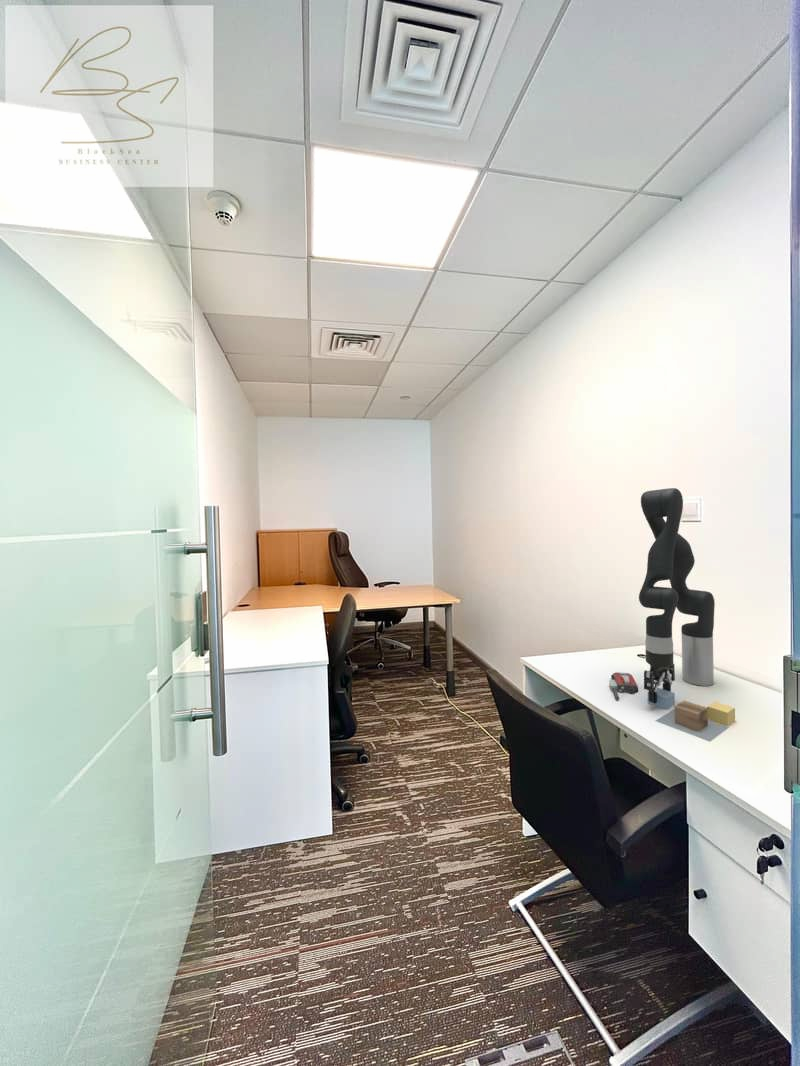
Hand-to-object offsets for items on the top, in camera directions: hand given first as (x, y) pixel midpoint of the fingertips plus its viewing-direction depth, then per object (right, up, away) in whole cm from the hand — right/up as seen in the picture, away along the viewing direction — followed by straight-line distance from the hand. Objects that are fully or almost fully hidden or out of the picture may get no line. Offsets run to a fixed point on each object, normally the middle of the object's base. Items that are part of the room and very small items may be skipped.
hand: (659, 698), depth 132 cm
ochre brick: (+11, -3, -11) cm, 16 cm away
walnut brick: (+1, -2, -12) cm, 13 cm away
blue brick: (+1, -3, 0) cm, 3 cm away
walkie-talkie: (-4, -3, +14) cm, 15 cm away
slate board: (+1, -3, -12) cm, 13 cm away
